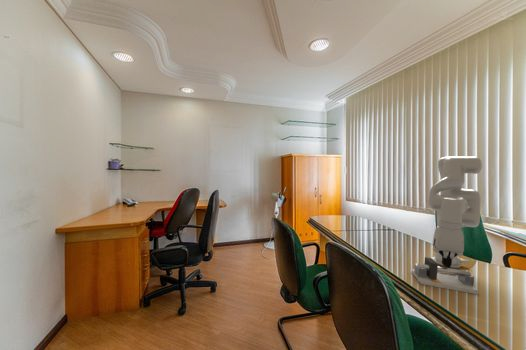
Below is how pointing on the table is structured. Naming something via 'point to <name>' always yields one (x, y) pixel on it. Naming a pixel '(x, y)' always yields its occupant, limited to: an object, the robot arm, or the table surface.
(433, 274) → the collar
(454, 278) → the pipe jig
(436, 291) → the table surface
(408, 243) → the table surface
